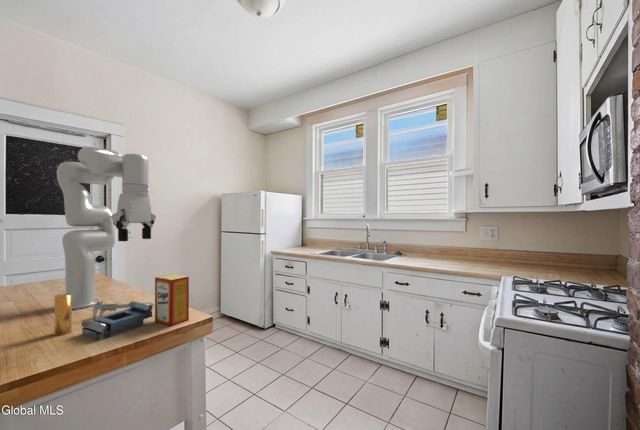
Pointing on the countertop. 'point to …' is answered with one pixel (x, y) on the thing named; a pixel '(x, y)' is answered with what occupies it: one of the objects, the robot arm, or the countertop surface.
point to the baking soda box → (171, 299)
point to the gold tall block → (63, 314)
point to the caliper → (108, 307)
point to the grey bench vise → (117, 321)
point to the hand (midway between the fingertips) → (135, 239)
